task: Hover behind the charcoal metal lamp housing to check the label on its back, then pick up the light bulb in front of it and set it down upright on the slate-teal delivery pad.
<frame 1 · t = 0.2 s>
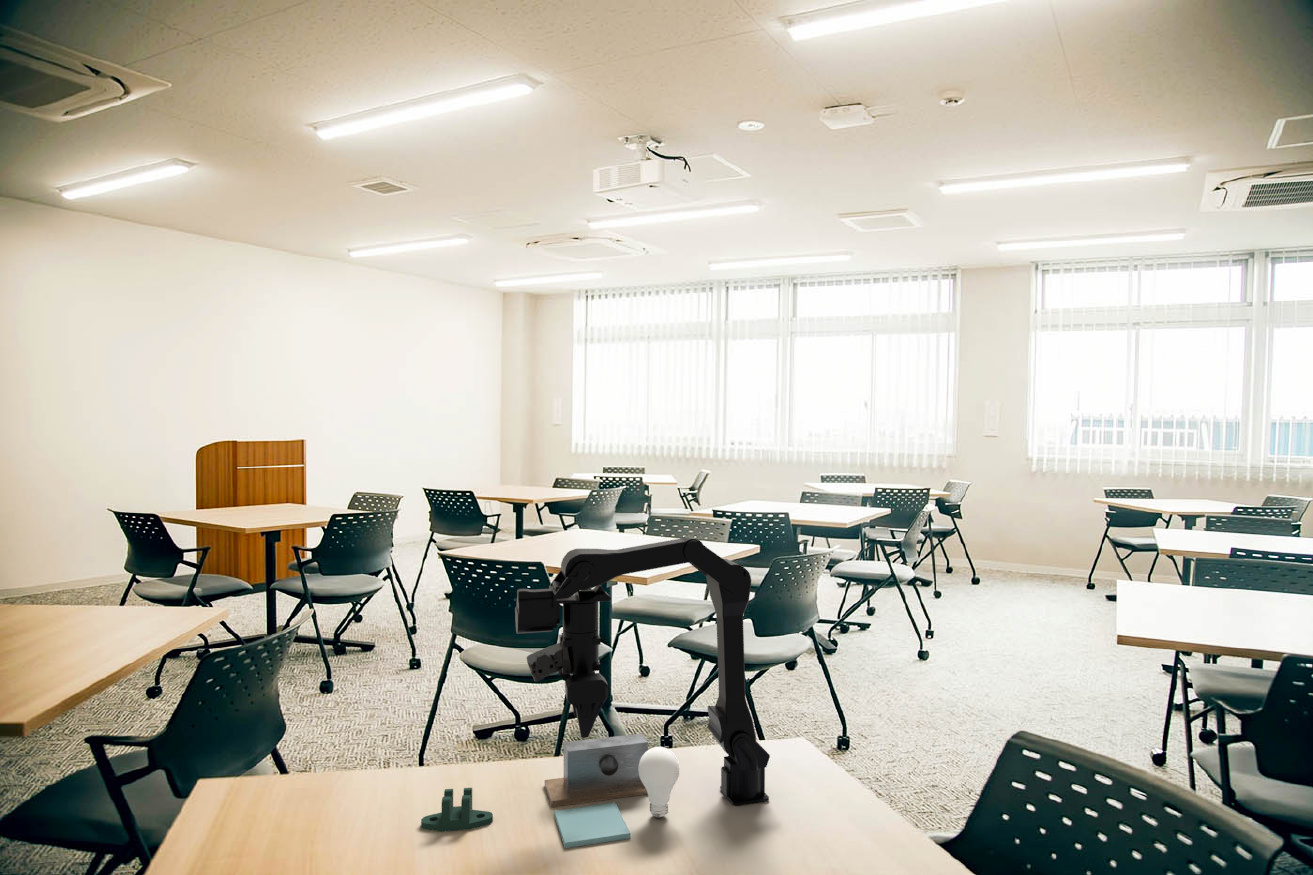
hand: (581, 726, 123), 14 cm above the table, tool pointing down, fingers open, 9 cm apart
delivery pad: (591, 826, 119), on the table
light bulb: (658, 818, 123), on the table
mount: (457, 826, 121), on the table
lamp housing: (605, 788, 132), on the table
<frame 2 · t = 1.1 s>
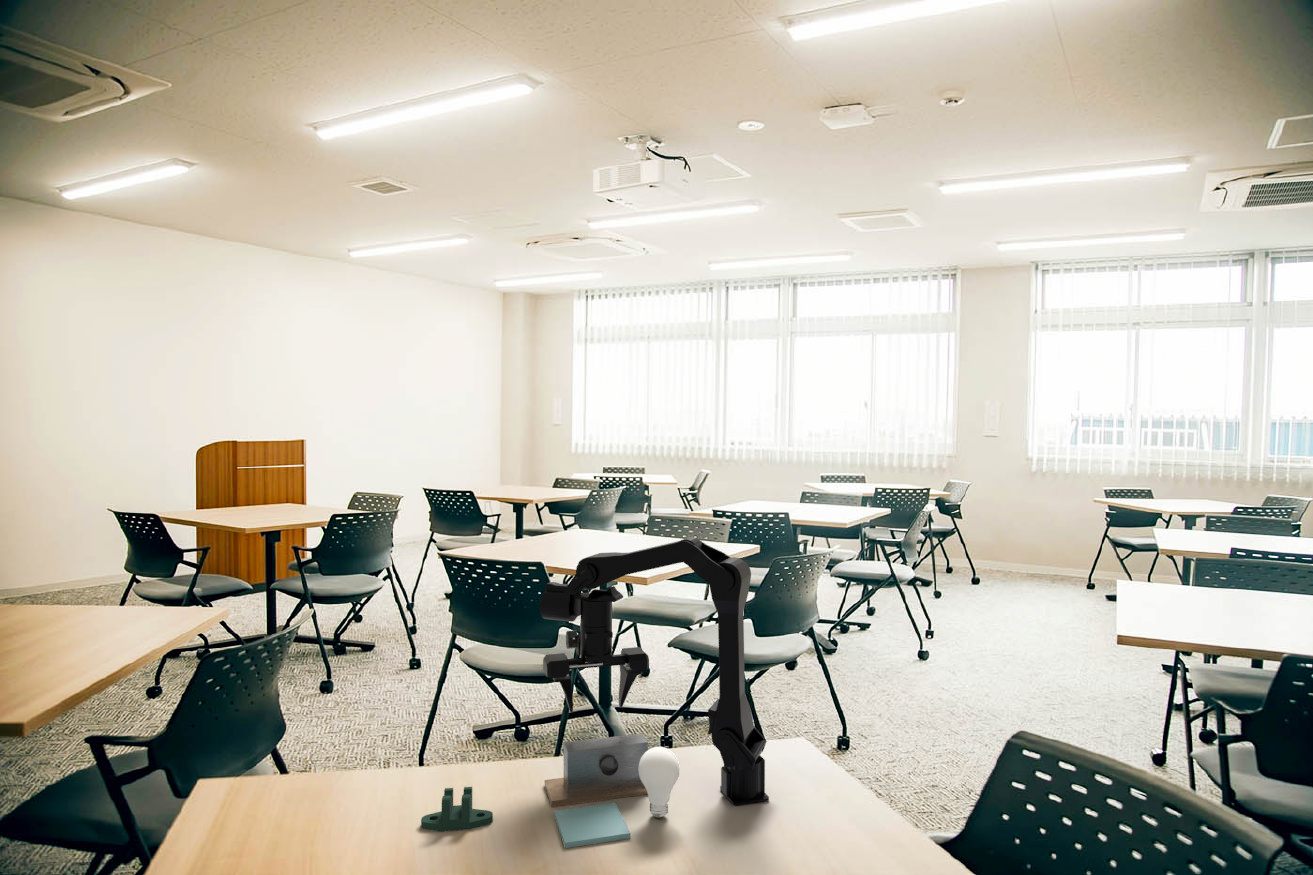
hand: (596, 709, 140), 11 cm above the table, tool pointing down, fingers open, 9 cm apart
nothing on the table moved.
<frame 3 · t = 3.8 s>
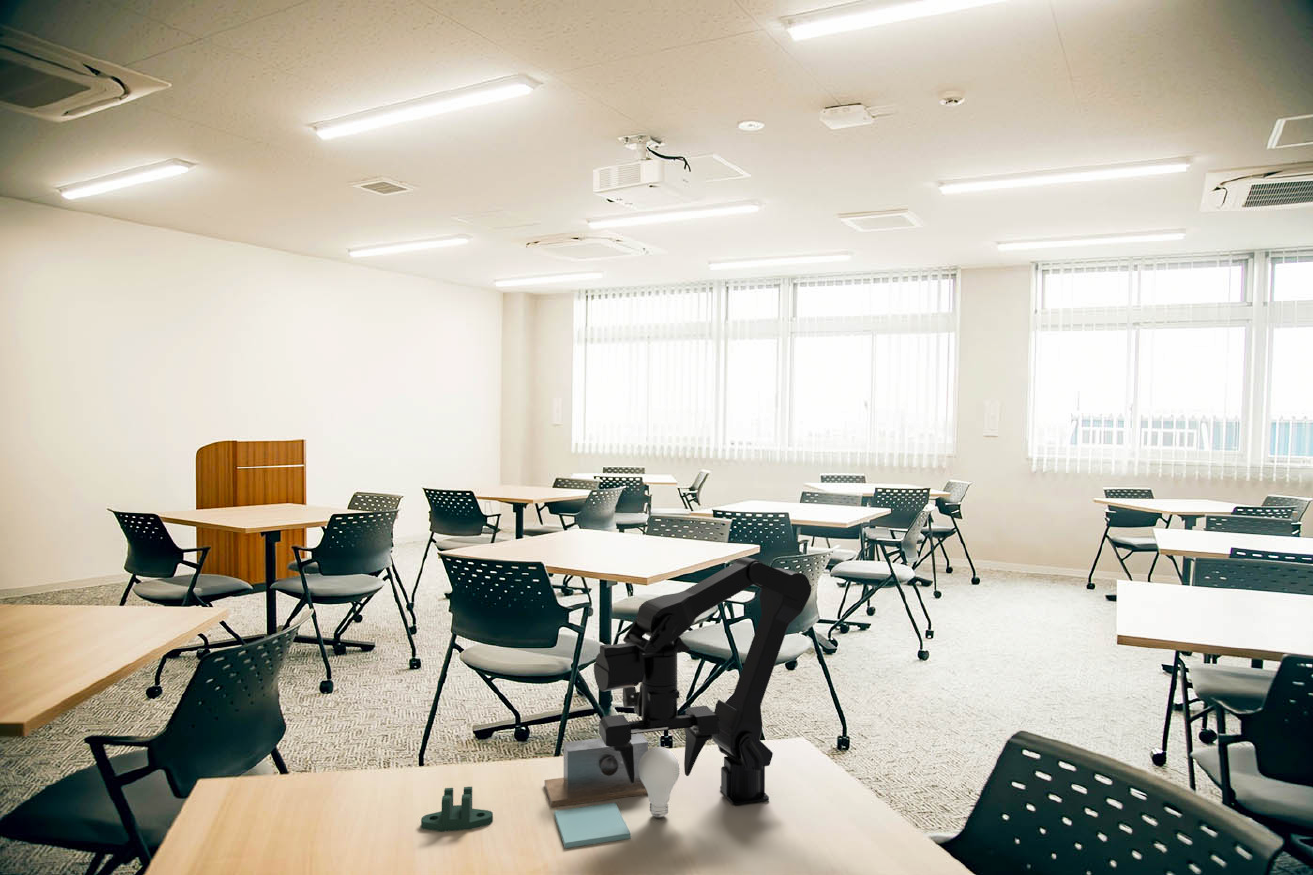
hand: (659, 778, 123), 6 cm above the table, tool pointing down, fingers open, 9 cm apart
nothing on the table moved.
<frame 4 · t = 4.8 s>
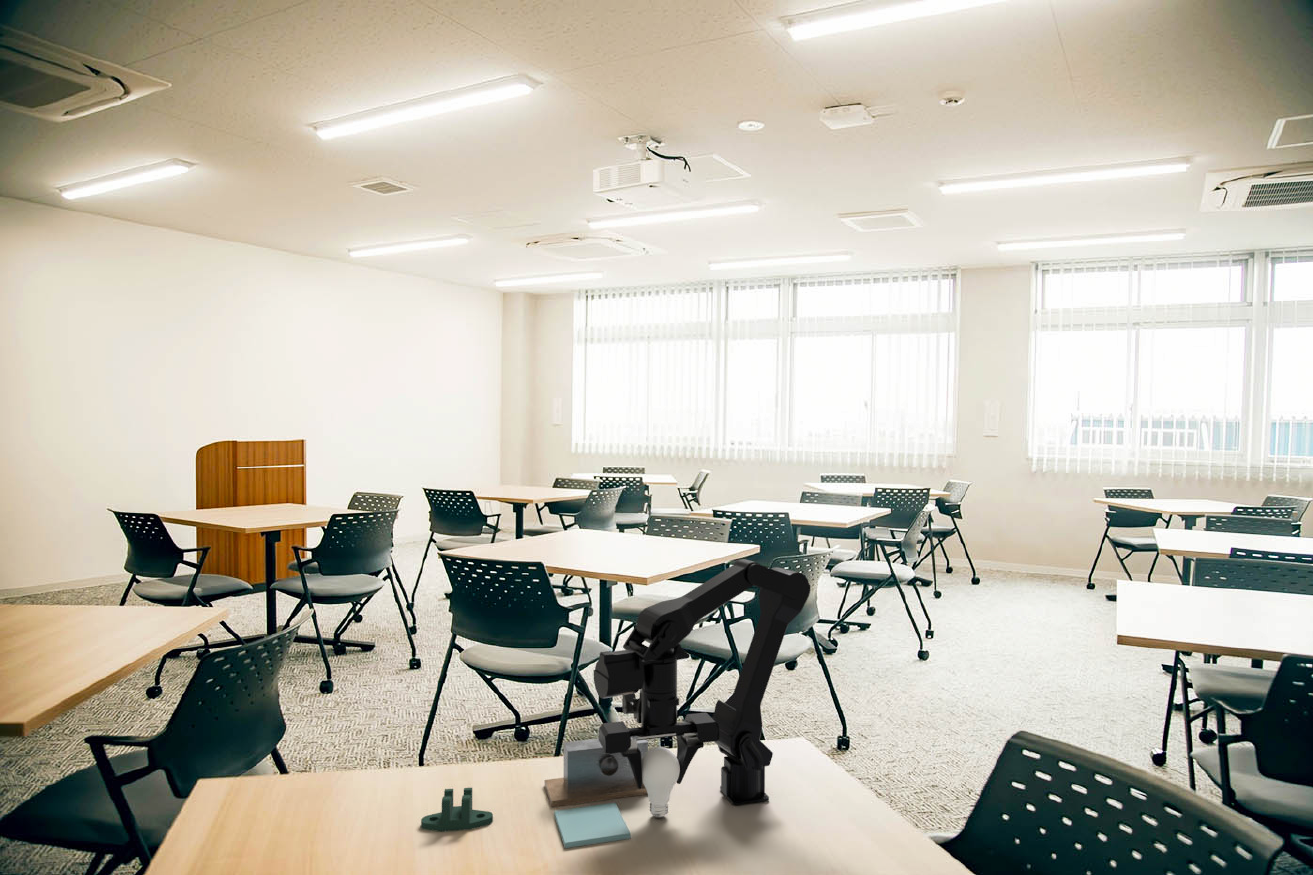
hand: (658, 785, 123), 5 cm above the table, tool pointing down, fingers closed on light bulb, 6 cm apart
light bulb: (658, 818, 123), on the table, touching gripper
everything else where it was.
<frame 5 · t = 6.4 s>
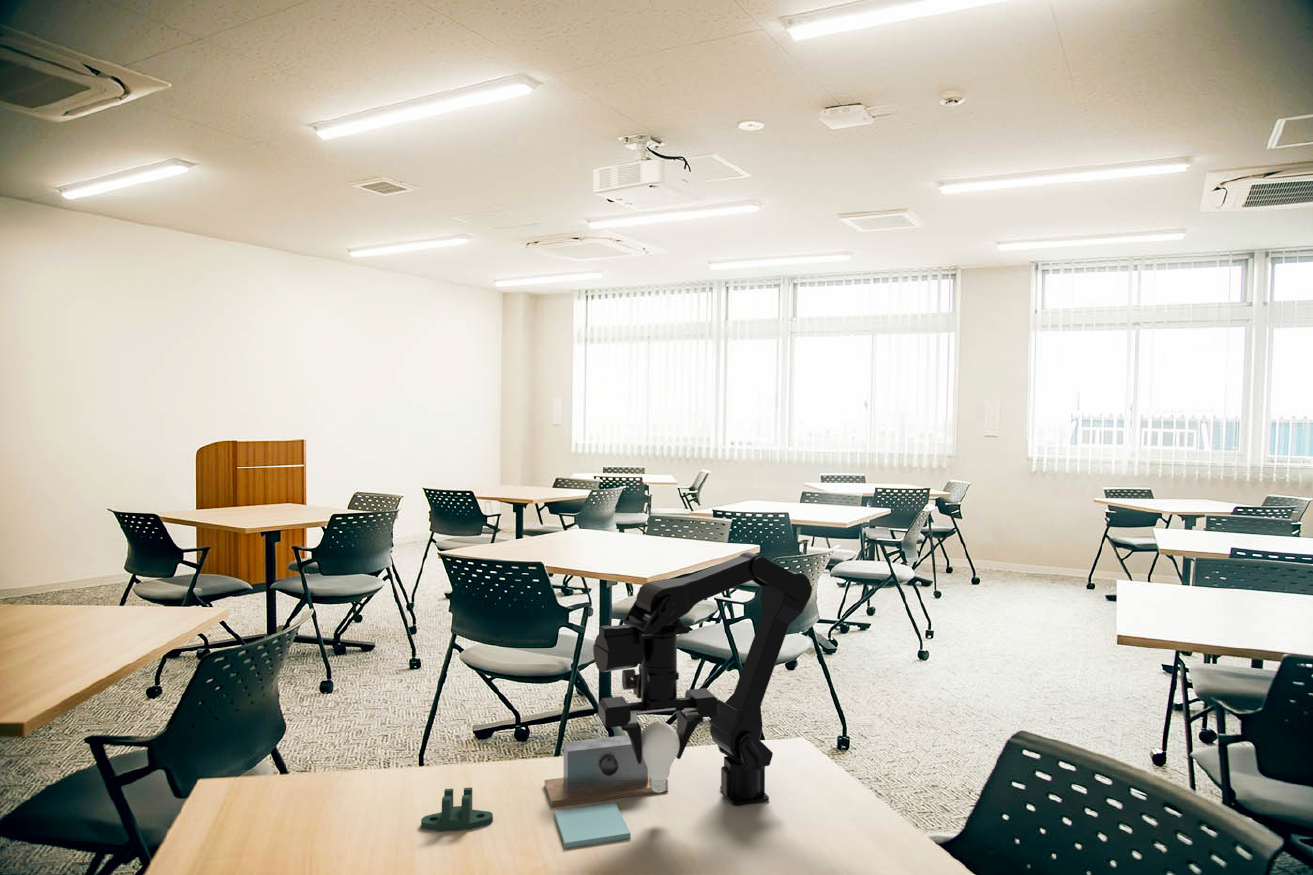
hand: (658, 760, 123), 9 cm above the table, tool pointing down, fingers closed on light bulb, 6 cm apart
light bulb: (658, 793, 123), point 4 cm above the table, touching gripper
everything else where it was.
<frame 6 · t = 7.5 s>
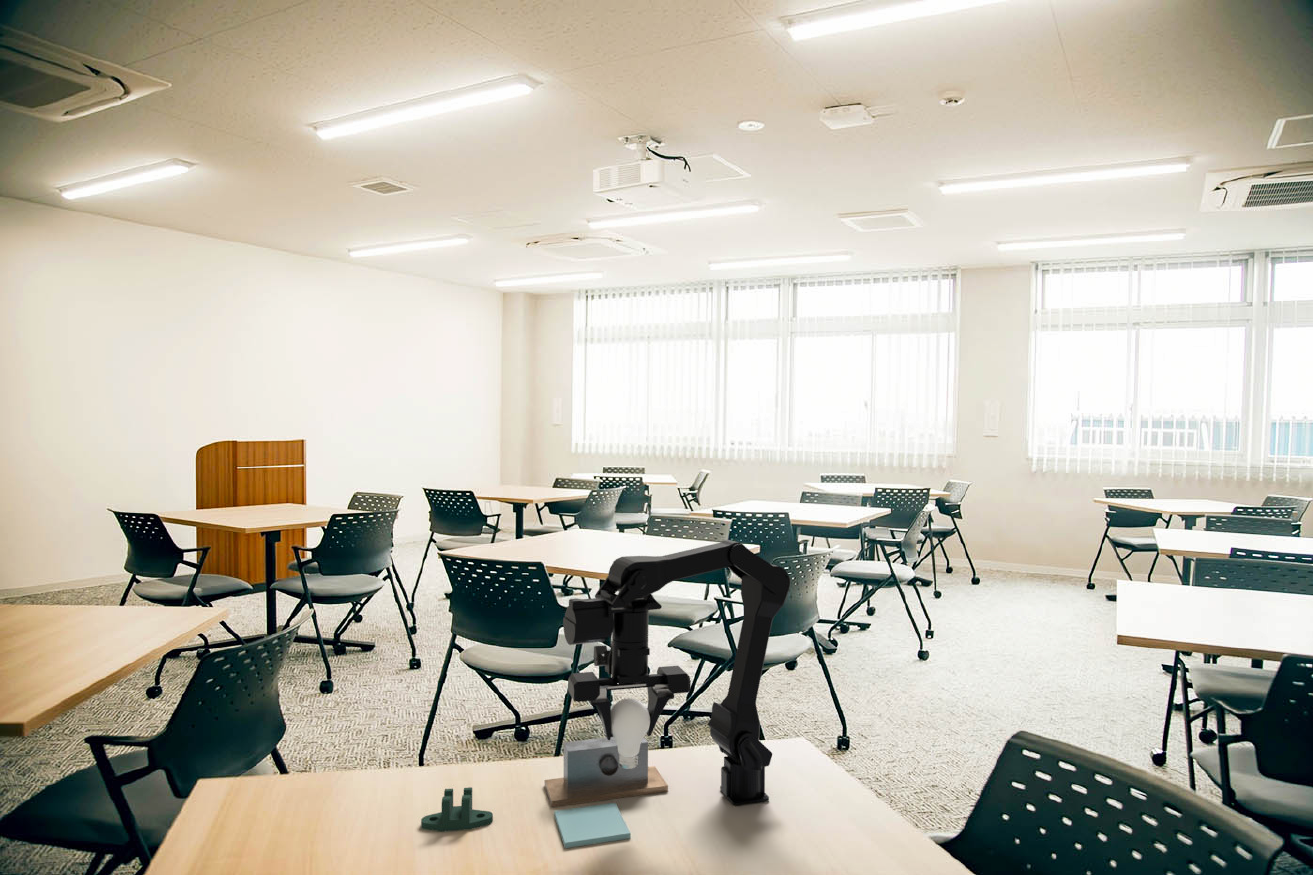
hand: (628, 737, 121), 13 cm above the table, tool pointing down, fingers closed on light bulb, 6 cm apart
light bulb: (628, 770, 121), point 8 cm above the table, touching gripper
everything else where it was.
when the fingers open (7 cm above the table, at t = 9.5 s): light bulb drops 1 cm, resting on delivery pad.
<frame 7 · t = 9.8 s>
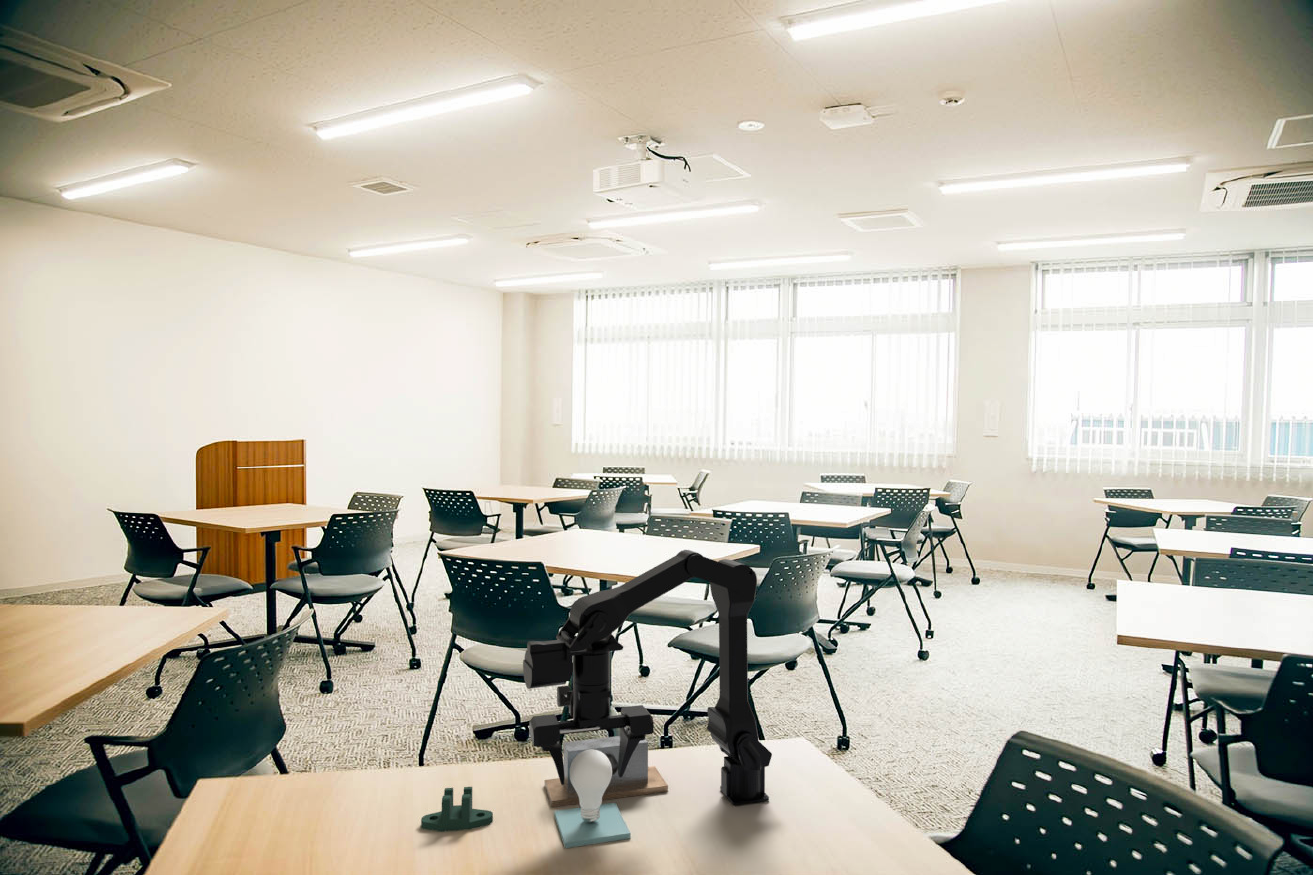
hand: (591, 780, 119), 7 cm above the table, tool pointing down, fingers open, 9 cm apart
light bulb: (590, 823, 119), point 1 cm above the table, touching delivery pad
everything else where it was.
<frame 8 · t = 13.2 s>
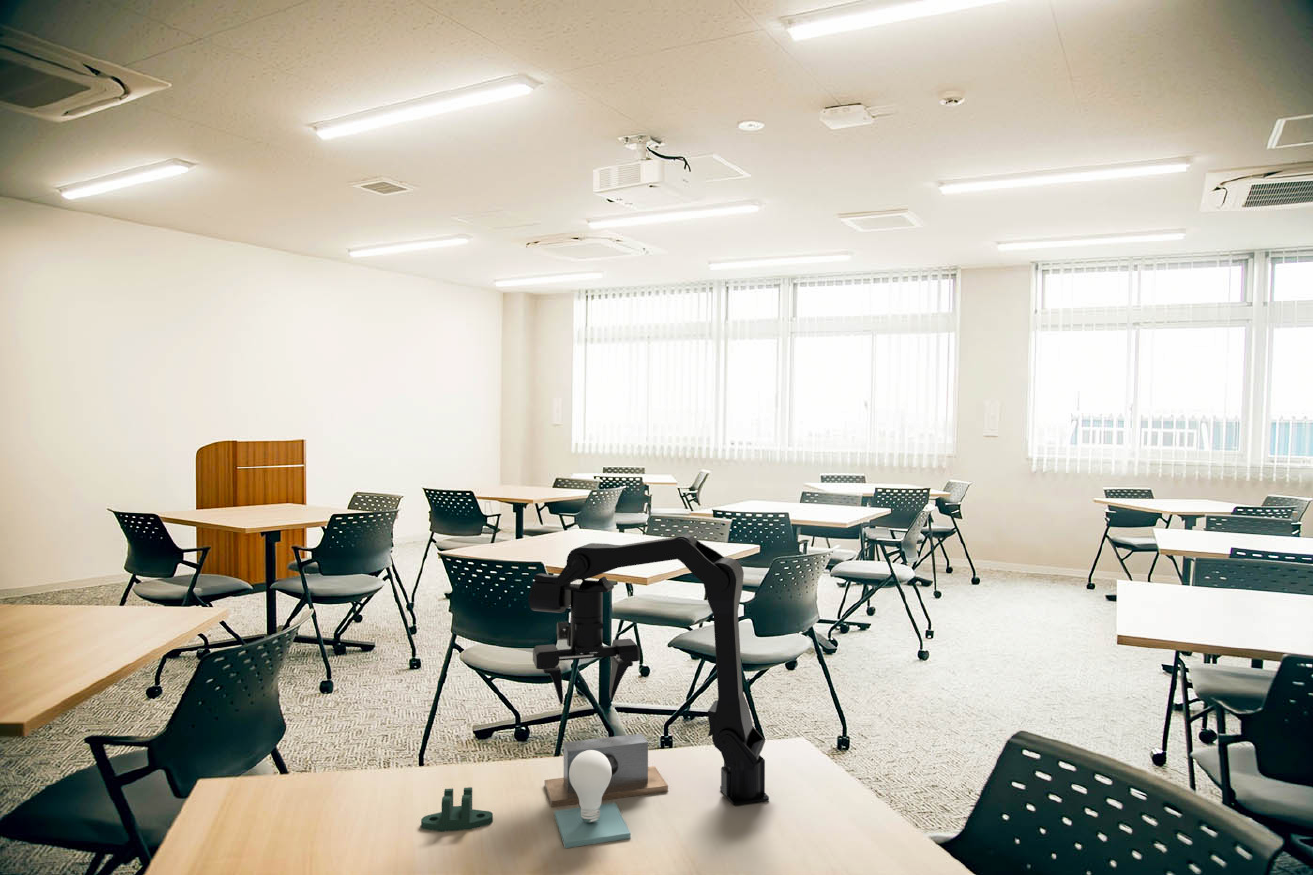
hand: (586, 700, 138), 13 cm above the table, tool pointing down, fingers open, 9 cm apart
nothing on the table moved.
at the end: light bulb 0.2 cm off-centre on the delivery pad, point 0.6 cm above the delivery pad's base; light bulb tilted 0°; the gripper is holding nothing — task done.
